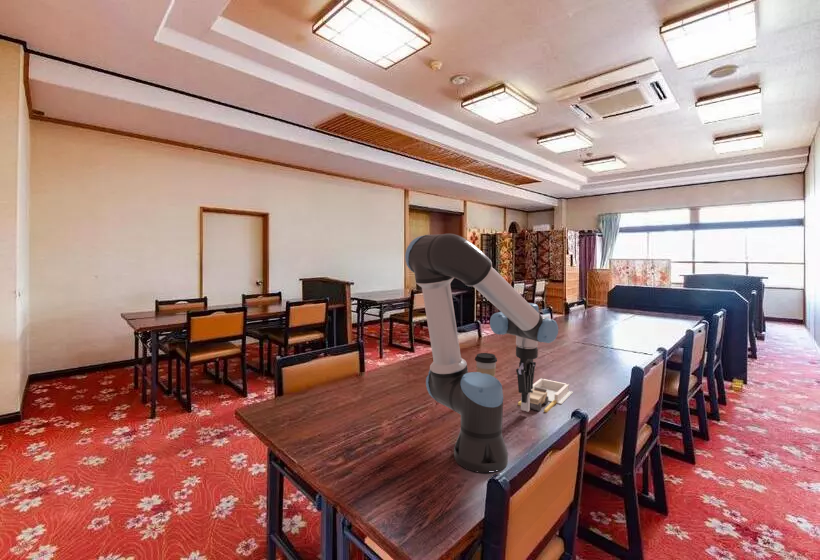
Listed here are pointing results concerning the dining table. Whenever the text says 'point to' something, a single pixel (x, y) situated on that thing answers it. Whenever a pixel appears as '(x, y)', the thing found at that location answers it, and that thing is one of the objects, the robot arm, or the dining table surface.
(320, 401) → the dining table surface
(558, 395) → the dock
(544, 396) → the two-tone toy block
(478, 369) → the coffee cup
